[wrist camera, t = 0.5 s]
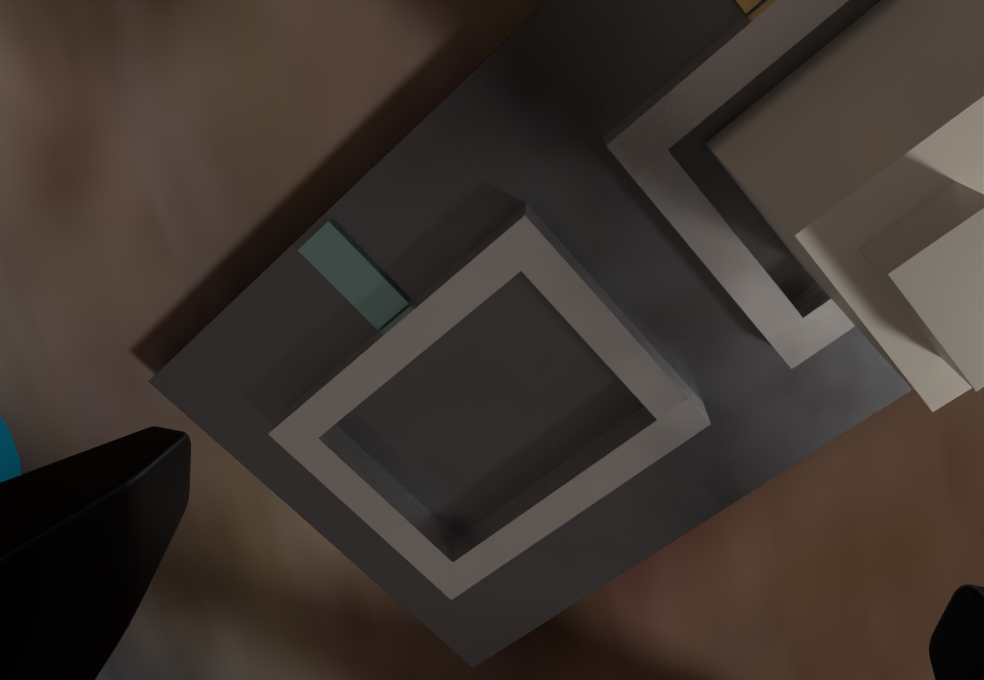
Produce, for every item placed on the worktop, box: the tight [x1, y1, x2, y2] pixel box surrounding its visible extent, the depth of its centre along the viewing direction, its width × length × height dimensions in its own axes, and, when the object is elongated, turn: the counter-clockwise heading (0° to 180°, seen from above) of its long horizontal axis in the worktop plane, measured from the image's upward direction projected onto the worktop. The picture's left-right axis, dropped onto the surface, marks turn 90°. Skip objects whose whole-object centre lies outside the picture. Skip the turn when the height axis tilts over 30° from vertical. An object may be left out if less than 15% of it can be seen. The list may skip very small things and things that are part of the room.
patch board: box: [148, 0, 912, 668], centre depth 21 cm, size 14×24×2 cm, turn 132°
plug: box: [705, 0, 984, 412], centre depth 15 cm, size 4×6×9 cm, turn 132°
